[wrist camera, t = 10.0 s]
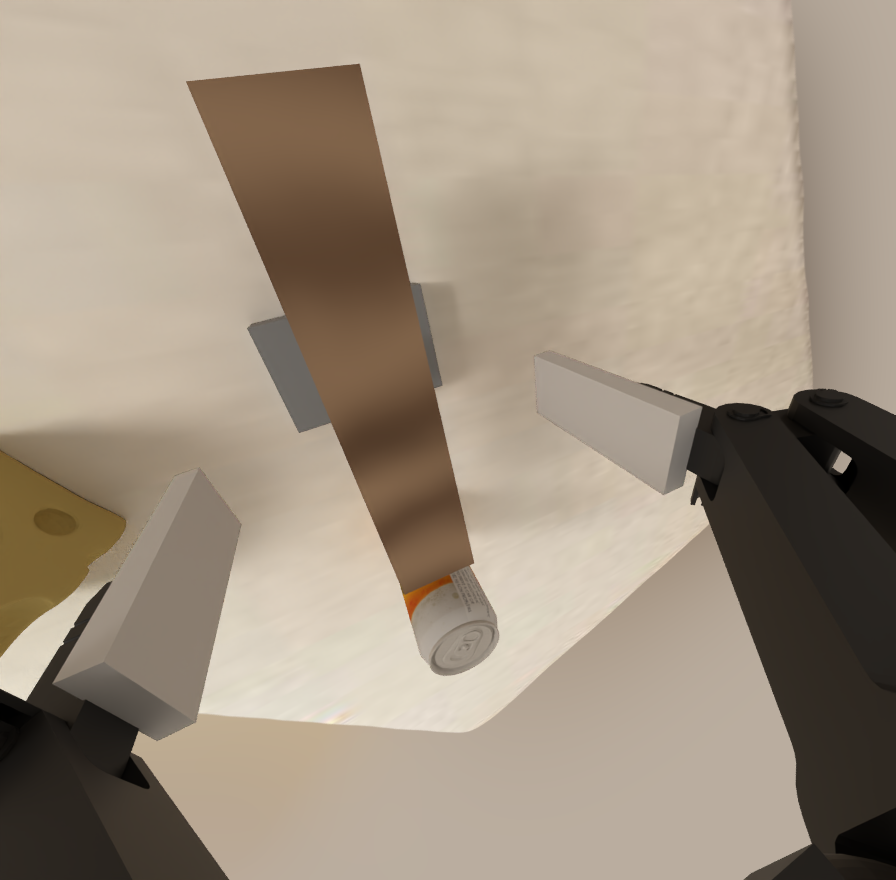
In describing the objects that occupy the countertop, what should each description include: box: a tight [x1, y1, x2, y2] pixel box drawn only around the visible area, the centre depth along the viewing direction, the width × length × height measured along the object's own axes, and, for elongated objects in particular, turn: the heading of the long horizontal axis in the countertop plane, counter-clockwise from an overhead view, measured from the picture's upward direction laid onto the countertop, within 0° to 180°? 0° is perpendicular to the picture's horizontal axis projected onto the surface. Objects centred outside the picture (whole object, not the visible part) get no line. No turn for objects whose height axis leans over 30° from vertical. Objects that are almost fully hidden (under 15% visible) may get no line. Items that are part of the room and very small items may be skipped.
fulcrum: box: [247, 283, 442, 433], centre depth 23 cm, size 8×12×8 cm, turn 102°
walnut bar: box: [187, 64, 474, 595], centre depth 18 cm, size 24×5×5 cm, turn 12°
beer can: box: [400, 566, 499, 676], centre depth 30 cm, size 6×6×15 cm
